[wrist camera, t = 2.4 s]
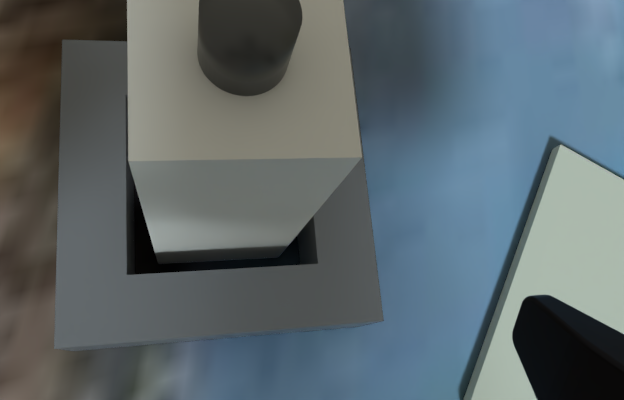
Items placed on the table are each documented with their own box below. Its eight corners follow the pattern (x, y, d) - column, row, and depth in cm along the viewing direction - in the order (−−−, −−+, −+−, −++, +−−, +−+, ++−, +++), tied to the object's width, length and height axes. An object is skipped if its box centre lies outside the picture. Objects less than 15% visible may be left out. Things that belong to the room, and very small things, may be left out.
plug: (278, 257, 22) (386, 127, 10) (158, 264, 21) (118, 128, 9) (269, 148, 23) (358, -85, 11) (155, 149, 22) (118, -106, 10)
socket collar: (357, 326, 21) (383, 320, 19) (73, 351, 19) (54, 348, 16) (330, 85, 24) (350, 47, 21) (78, 81, 22) (62, 39, 19)
